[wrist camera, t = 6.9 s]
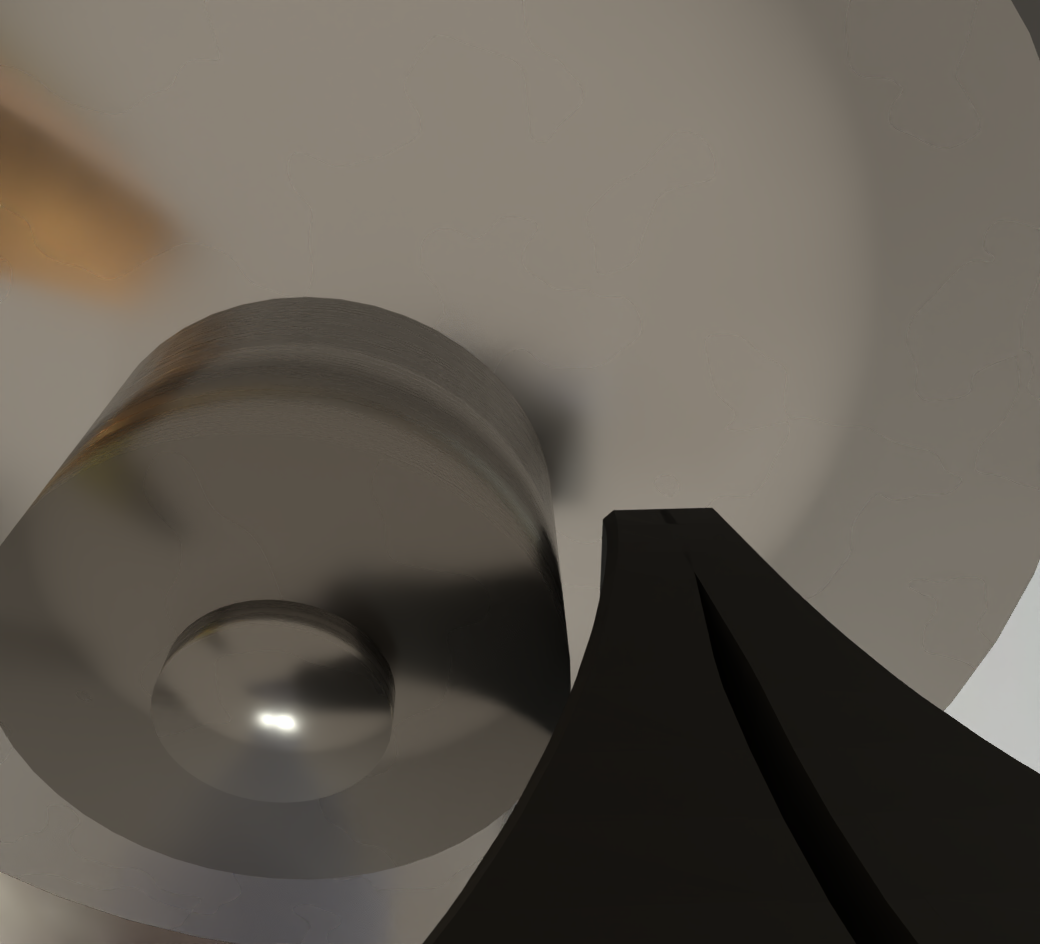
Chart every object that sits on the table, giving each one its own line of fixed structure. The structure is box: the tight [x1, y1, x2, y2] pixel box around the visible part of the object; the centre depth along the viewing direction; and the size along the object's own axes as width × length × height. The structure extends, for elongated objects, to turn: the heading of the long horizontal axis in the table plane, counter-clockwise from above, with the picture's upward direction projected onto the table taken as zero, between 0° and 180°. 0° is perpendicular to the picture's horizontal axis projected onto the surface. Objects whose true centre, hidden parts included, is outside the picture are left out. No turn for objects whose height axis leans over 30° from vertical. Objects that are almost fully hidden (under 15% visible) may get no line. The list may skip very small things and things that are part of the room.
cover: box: [0, 297, 571, 879], centre depth 10 cm, size 6×6×4 cm
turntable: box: [0, 0, 1040, 944], centre depth 12 cm, size 18×18×4 cm
